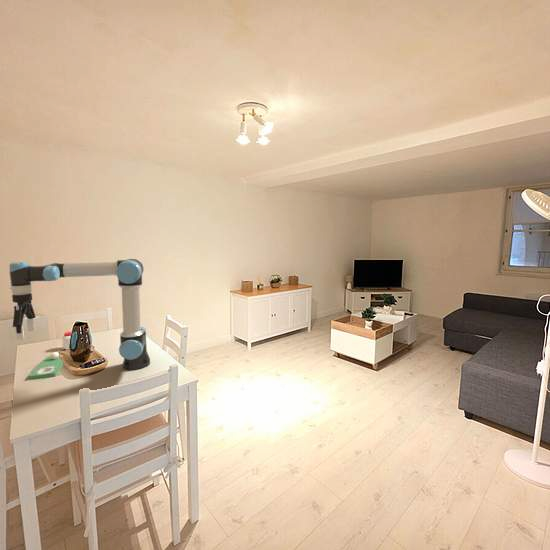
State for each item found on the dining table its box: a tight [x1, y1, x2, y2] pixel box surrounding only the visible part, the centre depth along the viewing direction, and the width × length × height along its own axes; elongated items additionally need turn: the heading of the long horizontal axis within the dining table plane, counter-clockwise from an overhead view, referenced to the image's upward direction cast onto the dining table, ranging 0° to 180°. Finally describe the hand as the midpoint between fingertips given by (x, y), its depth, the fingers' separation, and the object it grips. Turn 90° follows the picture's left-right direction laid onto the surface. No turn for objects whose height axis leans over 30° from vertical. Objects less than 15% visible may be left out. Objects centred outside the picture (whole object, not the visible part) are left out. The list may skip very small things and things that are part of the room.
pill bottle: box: [61, 331, 72, 350], centre depth 207 cm, size 8×8×11 cm
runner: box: [28, 355, 64, 381], centre depth 177 cm, size 12×28×2 cm, turn 21°
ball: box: [50, 351, 60, 359], centre depth 184 cm, size 4×4×4 cm
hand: (26, 335), depth 151 cm, fingers open, 13 cm apart
